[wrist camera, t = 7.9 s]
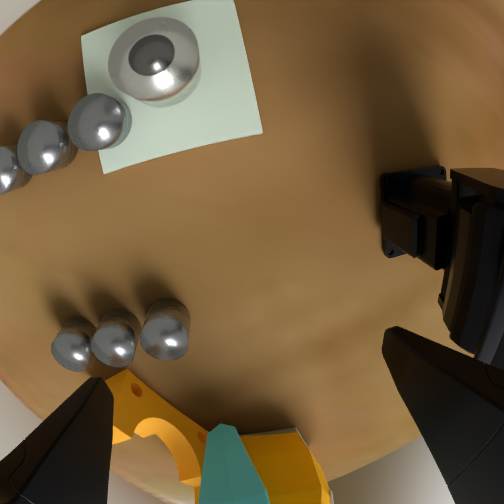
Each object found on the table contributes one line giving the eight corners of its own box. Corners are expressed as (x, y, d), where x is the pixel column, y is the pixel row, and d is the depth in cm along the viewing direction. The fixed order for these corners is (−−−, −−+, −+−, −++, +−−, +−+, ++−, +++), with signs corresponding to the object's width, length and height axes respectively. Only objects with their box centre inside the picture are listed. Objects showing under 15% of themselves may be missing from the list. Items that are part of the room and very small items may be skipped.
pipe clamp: (98, 383, 22) (81, 435, 16) (127, 367, 22) (112, 425, 16) (180, 442, 27) (179, 490, 21) (210, 432, 26) (213, 482, 21)
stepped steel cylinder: (194, 34, 13) (190, 6, 10) (207, 97, 15) (206, 83, 11) (124, 54, 13) (102, 32, 9) (135, 116, 15) (113, 109, 11)
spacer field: (129, 92, 15) (114, 84, 12) (195, 330, 21) (194, 356, 18) (0, 153, 14) (-24, 158, 11) (75, 349, 21) (64, 372, 18)
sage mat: (231, -3, 13) (232, -6, 13) (261, 133, 17) (262, 133, 16) (83, 38, 13) (80, 36, 12) (106, 173, 16) (104, 174, 16)
